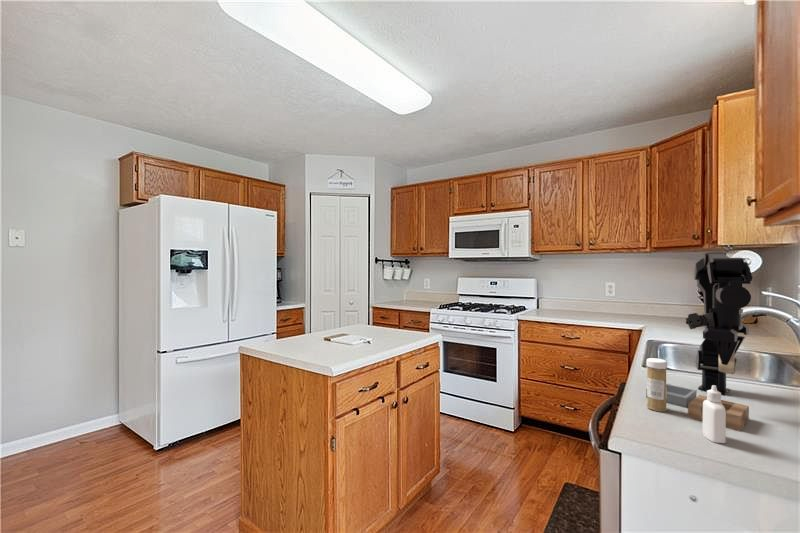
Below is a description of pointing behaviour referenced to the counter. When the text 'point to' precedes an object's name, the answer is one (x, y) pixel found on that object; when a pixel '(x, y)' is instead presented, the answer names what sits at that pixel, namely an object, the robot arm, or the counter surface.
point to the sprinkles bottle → (656, 384)
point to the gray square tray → (679, 395)
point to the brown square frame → (734, 411)
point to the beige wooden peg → (730, 366)
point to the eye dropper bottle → (714, 417)
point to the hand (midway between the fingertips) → (726, 363)
